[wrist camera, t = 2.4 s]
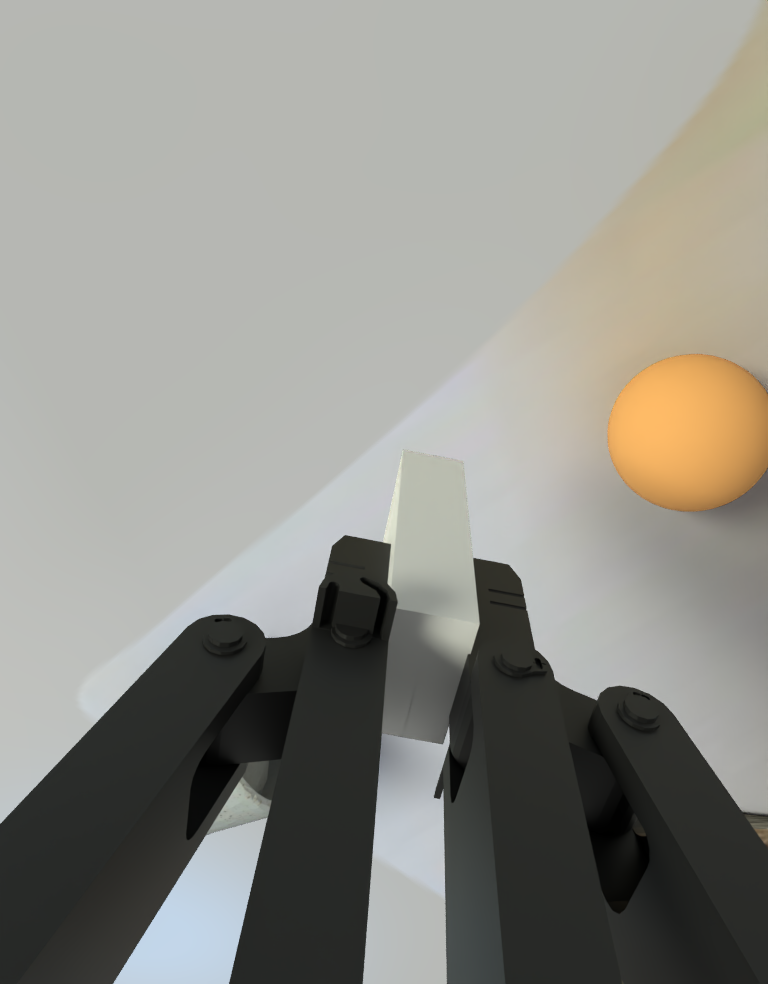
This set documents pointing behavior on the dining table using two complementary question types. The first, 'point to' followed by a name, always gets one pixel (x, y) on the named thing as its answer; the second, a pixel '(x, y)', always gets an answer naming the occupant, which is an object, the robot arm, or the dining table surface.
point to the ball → (690, 432)
